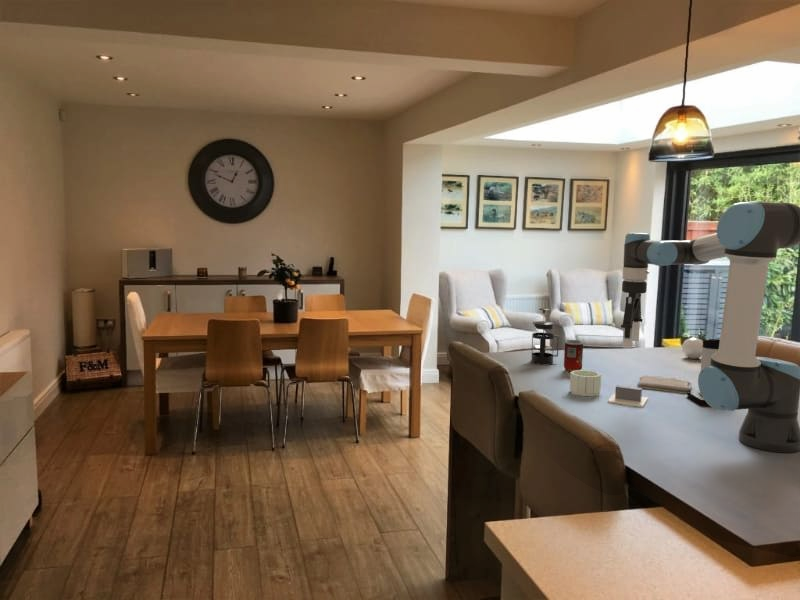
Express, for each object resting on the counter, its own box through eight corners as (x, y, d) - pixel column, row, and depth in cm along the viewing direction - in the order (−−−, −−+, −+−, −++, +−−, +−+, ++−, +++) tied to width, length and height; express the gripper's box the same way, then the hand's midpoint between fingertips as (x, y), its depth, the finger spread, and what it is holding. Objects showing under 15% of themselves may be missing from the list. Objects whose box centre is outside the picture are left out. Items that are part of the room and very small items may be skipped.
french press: (528, 363, 269) (530, 309, 266) (530, 359, 278) (532, 306, 275) (557, 365, 266) (559, 310, 263) (558, 360, 275) (560, 307, 272)
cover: (642, 409, 207) (643, 393, 206) (607, 404, 212) (608, 388, 212) (647, 400, 217) (648, 385, 216) (614, 396, 222) (615, 381, 221)
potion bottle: (678, 359, 286) (715, 367, 280) (680, 350, 278) (719, 358, 272) (682, 341, 290) (718, 348, 284) (684, 331, 282) (722, 338, 276)
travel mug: (708, 397, 219) (712, 340, 217) (695, 392, 225) (698, 336, 223) (723, 396, 221) (728, 339, 218) (709, 391, 227) (713, 336, 225)
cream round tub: (596, 398, 218) (597, 378, 217) (566, 394, 222) (567, 374, 222) (602, 391, 226) (603, 372, 225) (574, 387, 231) (575, 368, 230)
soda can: (581, 374, 252) (583, 343, 250) (563, 372, 254) (564, 342, 252) (582, 370, 258) (583, 340, 257) (564, 368, 260) (565, 339, 259)
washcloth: (690, 395, 224) (691, 386, 223) (636, 389, 232) (636, 380, 231) (691, 387, 234) (692, 379, 234) (639, 381, 242) (640, 373, 242)
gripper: (640, 284, 197) (636, 352, 200) (652, 278, 218) (648, 339, 221) (615, 283, 200) (611, 349, 203) (629, 276, 222) (626, 337, 225)
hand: (630, 344), depth 212 cm, fingers open, 13 cm apart
